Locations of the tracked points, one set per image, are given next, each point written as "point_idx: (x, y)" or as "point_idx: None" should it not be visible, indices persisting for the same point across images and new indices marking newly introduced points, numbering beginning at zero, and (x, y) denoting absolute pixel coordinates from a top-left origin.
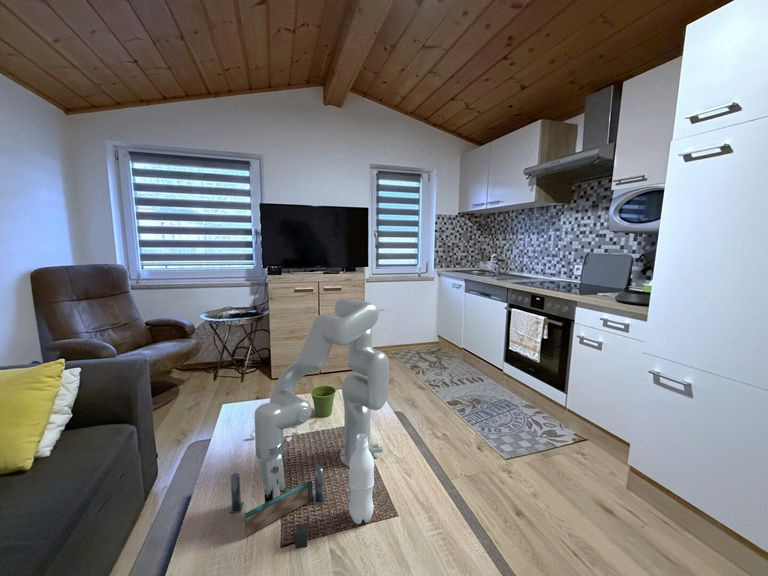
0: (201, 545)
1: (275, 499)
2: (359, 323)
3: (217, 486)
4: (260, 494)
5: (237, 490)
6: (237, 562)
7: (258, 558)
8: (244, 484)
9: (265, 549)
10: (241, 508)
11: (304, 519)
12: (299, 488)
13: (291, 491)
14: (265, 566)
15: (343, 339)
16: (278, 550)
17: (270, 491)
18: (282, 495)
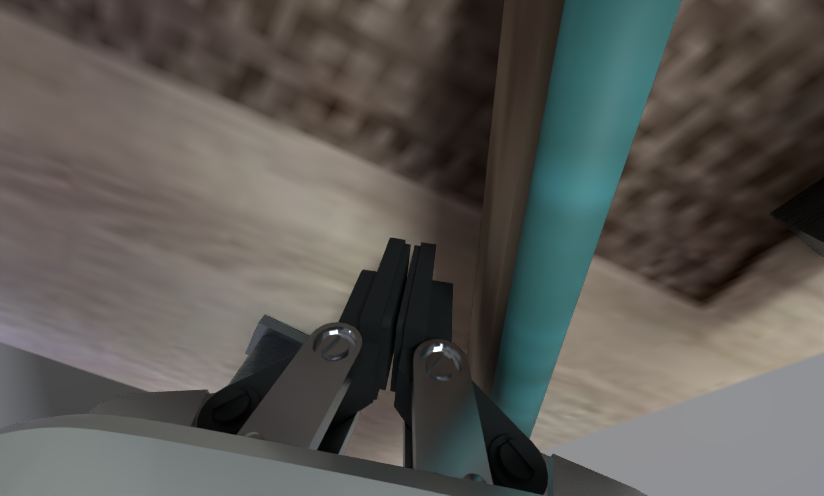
0: (400, 446)
1: (535, 404)
2: None
3: (104, 343)
4: (221, 230)
5: None
6: (570, 422)
7: (636, 383)
8: (107, 263)
9: (626, 352)
10: (299, 342)
11: (699, 68)
12: (674, 18)
13: (599, 220)
14: (708, 383)
15: None
16: (704, 320)
17: (375, 385)
18: (554, 346)
